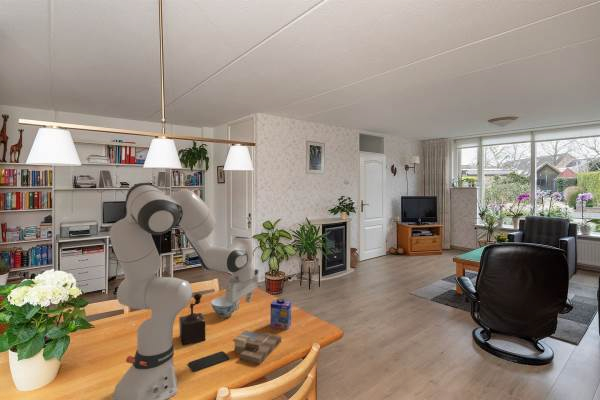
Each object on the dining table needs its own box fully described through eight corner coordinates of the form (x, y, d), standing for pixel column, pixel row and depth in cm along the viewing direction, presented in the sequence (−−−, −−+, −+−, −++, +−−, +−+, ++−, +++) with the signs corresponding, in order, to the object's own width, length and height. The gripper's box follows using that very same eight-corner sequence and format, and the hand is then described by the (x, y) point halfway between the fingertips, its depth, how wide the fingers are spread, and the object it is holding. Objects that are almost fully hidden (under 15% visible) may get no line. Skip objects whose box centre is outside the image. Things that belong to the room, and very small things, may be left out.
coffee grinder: (207, 340, 138) (207, 302, 138) (181, 346, 133) (181, 306, 132) (201, 326, 152) (201, 291, 151) (177, 331, 147) (177, 294, 146)
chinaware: (244, 314, 167) (244, 300, 167) (221, 323, 156) (221, 308, 156) (228, 307, 177) (228, 294, 177) (205, 314, 166) (205, 301, 166)
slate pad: (254, 345, 134) (254, 344, 134) (233, 340, 139) (233, 339, 139) (265, 335, 144) (265, 334, 144) (245, 331, 148) (245, 330, 148)
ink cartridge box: (269, 327, 152) (270, 299, 152) (272, 322, 158) (273, 295, 157) (288, 329, 150) (289, 300, 150) (291, 324, 156) (291, 297, 155)
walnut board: (259, 364, 120) (259, 358, 120) (240, 359, 123) (240, 353, 123) (281, 341, 138) (281, 336, 138) (263, 337, 142) (264, 332, 142)
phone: (187, 362, 120) (222, 350, 129) (187, 364, 120) (222, 352, 129) (193, 371, 114) (230, 358, 123) (193, 373, 114) (230, 360, 123)
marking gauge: (257, 357, 125) (257, 343, 125) (234, 352, 129) (234, 338, 129) (261, 353, 128) (261, 339, 128) (239, 347, 133) (239, 334, 132)
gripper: (234, 282, 118) (234, 316, 118) (260, 268, 137) (260, 298, 137) (221, 280, 120) (221, 313, 121) (248, 267, 139) (248, 296, 140)
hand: (242, 305), depth 129 cm, fingers open, 8 cm apart
